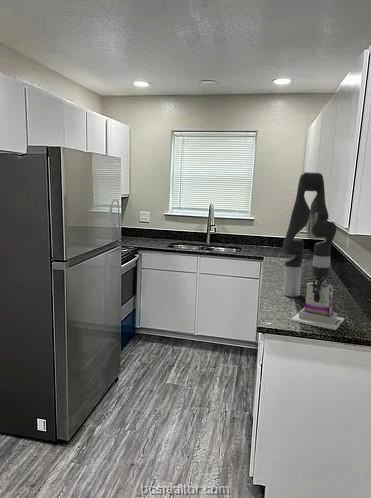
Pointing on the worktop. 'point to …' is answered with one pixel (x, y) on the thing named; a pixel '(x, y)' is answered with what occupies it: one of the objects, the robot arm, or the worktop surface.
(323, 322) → the socket board
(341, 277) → the worktop surface
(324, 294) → the candy bar box
